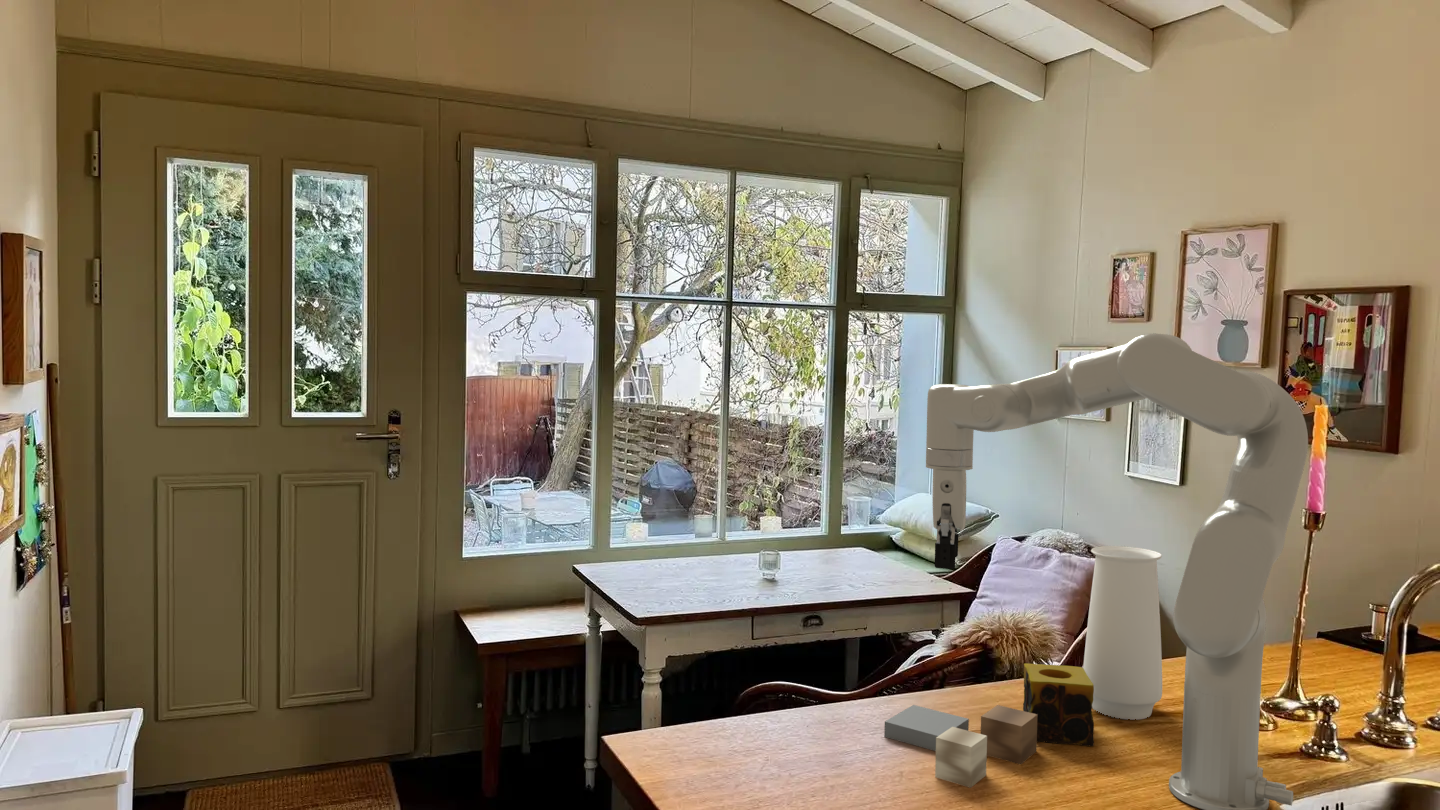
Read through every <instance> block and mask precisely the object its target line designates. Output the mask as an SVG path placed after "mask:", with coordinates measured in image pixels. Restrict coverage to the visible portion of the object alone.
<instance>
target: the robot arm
mask: <svg viewBox="0 0 1440 810" xmlns="http://www.w3.org/2000/svg"><path fill="white" fill-rule="evenodd" d="M926 400H927V405H926V408H927V410H926V437H925V438H926V441H925V443H926V446H925V468H926V469H927V468H928V469H930V470H932V523H933V524H932V525H933V528H934V529H935V530H936V542H935V543H934V568H935V569H944V570H954V569H955V568H956V558H958V556H959V533H958V529H959V531H960V532H962V531H964V530H965V528H966V521H967V520H966V519H967V518H966V513H967V512H966V511H967V471H969V470H973V465H974V464H973V460H974V433H975V431H976V432H977V431H978V432H982V433H983V432H984V433H995V432H1003V431H1009V430H1016V429H1020V428H1023V427H1028V426H1033V425H1037V424H1041V423H1044V422H1048V421H1054V420H1057V419H1060V418H1066V417H1068V416H1073V415H1084V414H1085V415H1086V414H1088V413H1093V412H1097V411H1102V410H1104V409H1109V408H1114V407H1116V406H1121V405H1125V404H1130V403H1133V402H1137V401H1143V400H1149V401H1151V402H1153V403H1154V404H1157V405H1158V406H1160V407H1162V408H1163V409H1166V410H1168V411H1170V412H1172V413H1174V414H1176V415H1179V416H1180V417H1182V418H1183V419H1186V420H1188V421H1190V422H1191V423H1194V424H1196V425H1198V426H1200V427H1202V428H1204V429H1206V430H1208V431H1211V432H1213V433H1216V434H1218V435H1223V436H1230V437H1234V436H1235V437H1237V446H1236V447H1237V448H1236V451H1235V454H1234V457H1233V460H1232V463H1231V466H1230V468H1229V471H1228V476H1227V481H1226V485H1225V488H1224V491H1223V493H1222V494H1223V495H1222V496H1221V499H1220V502H1219V504H1218V507H1217V508H1216V510H1215V511H1214V512H1213V513H1211V514H1209V516H1207V517H1206V518H1205V519H1204V521H1203V522H1202V523H1201V525H1200V526H1199V528H1198V530H1197V532H1196V534H1195V537H1194V538H1193V543H1192V545H1191V548H1190V553H1189V555H1188V559H1187V562H1186V566H1185V569H1184V571H1183V572H1184V573H1183V574H1182V575H1183V576H1182V579H1181V582H1180V587H1179V588H1178V592H1177V595H1176V599H1175V604H1174V608H1173V617H1172V619H1173V625H1174V629H1175V632H1176V633H1177V635H1178V638H1179V639H1180V640H1181V642H1182V643H1183V645H1185V647H1186V654H1185V667H1184V682H1183V683H1184V685H1183V709H1182V710H1183V712H1182V714H1183V717H1182V740H1181V743H1182V744H1181V767H1180V769H1181V770H1180V771H1178V772H1175V773H1174V774H1172V775H1171V776H1169V779H1168V788H1169V791H1170V792H1171V794H1173V795H1174V797H1176V798H1177V799H1178V800H1180V801H1182V802H1184V803H1186V804H1188V805H1190V806H1192V807H1195V808H1198V809H1200V810H1268V809H1269V807H1270V801H1274V802H1276V803H1279V804H1282V805H1286V806H1290V807H1291V806H1293V803H1294V801H1293V800H1294V791H1293V790H1289V789H1287V785H1286V784H1284V783H1280V782H1276V781H1275V782H1274V781H1271V780H1268V778H1267V777H1264V768H1263V767H1260V766H1258V765H1259V764H1258V763H1259V762H1258V760H1259V741H1260V740H1259V738H1260V737H1259V736H1260V711H1261V694H1262V673H1263V671H1262V670H1263V657H1264V648H1265V647H1264V645H1265V637H1266V628H1267V608H1266V604H1265V601H1264V598H1263V596H1264V593H1265V590H1266V587H1267V583H1268V580H1269V577H1270V574H1271V571H1272V568H1273V565H1274V564H1275V563H1276V561H1277V560H1278V559H1279V557H1280V556H1281V554H1282V553H1283V550H1284V546H1285V541H1286V535H1287V530H1288V527H1289V522H1290V520H1291V516H1292V513H1293V509H1294V506H1295V503H1296V499H1297V495H1298V492H1299V491H1298V490H1299V487H1300V484H1301V480H1302V477H1303V473H1304V469H1305V465H1306V460H1307V457H1308V456H1307V454H1308V451H1309V450H1308V449H1309V435H1308V429H1307V428H1308V427H1307V423H1306V419H1305V417H1304V415H1303V412H1302V410H1301V408H1300V406H1299V405H1298V403H1297V402H1296V400H1295V399H1294V398H1293V397H1292V396H1291V395H1290V393H1289V392H1287V391H1286V390H1285V389H1284V388H1283V387H1282V386H1280V384H1279V383H1277V382H1275V381H1274V380H1272V379H1271V378H1269V377H1267V376H1265V375H1263V374H1260V373H1257V372H1254V371H1247V370H1246V371H1245V370H1239V371H1237V370H1236V369H1233V368H1231V367H1228V366H1226V365H1224V364H1222V363H1219V362H1217V361H1215V360H1212V359H1211V358H1209V357H1206V356H1204V355H1202V354H1200V353H1198V352H1197V351H1194V350H1193V349H1192V348H1191V346H1190V345H1189V344H1188V343H1187V342H1186V341H1185V340H1183V339H1182V338H1180V337H1178V336H1176V335H1173V334H1168V333H1165V334H1164V333H1154V332H1153V333H1144V334H1141V335H1139V336H1136V337H1134V338H1133V339H1131V340H1130V341H1129V342H1128V343H1125V344H1122V345H1118V346H1115V347H1112V348H1108V349H1104V350H1101V351H1097V352H1096V351H1095V352H1092V353H1088V354H1084V355H1080V356H1077V357H1074V358H1072V359H1070V360H1068V361H1067V362H1066V363H1065V364H1064V365H1062V367H1060V368H1058V369H1056V370H1054V371H1051V372H1048V373H1045V374H1040V375H1037V376H1034V377H1031V378H1027V379H1023V380H1018V381H1014V382H1011V383H997V384H996V383H994V384H982V385H977V386H976V385H974V386H971V385H970V386H969V385H967V384H956V383H955V384H954V383H953V384H951V383H948V384H947V383H941V384H940V383H939V384H933V385H931V386H930V387H929V389H928V391H927V399H926Z"/></svg>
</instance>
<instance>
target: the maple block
mask: <svg viewBox="0 0 1440 810" xmlns="http://www.w3.org/2000/svg"><path fill="white" fill-rule="evenodd" d="M987 757H988V756H987V736H986V735H982V734H981V733H978V732H974V731H970V730H968V731H967V730H963V729H959V728H956V727H951V728H950V729H948V730H947V731H945V732H944V733H942V734H941V735H939V736H938V737H936V751H935V765H934V766H935V770H934V774H935V775H934V776H935V777H934V778H937V779H941V780H943V781H946V782H951V783H954V784H957V785H960V786H964V787H967V788H972V787H973V786H974V785H976V784H977V783H979V782H980V781H981V780H982V779H983V778H985V777H986V776H987V759H988V758H987Z"/></svg>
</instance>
